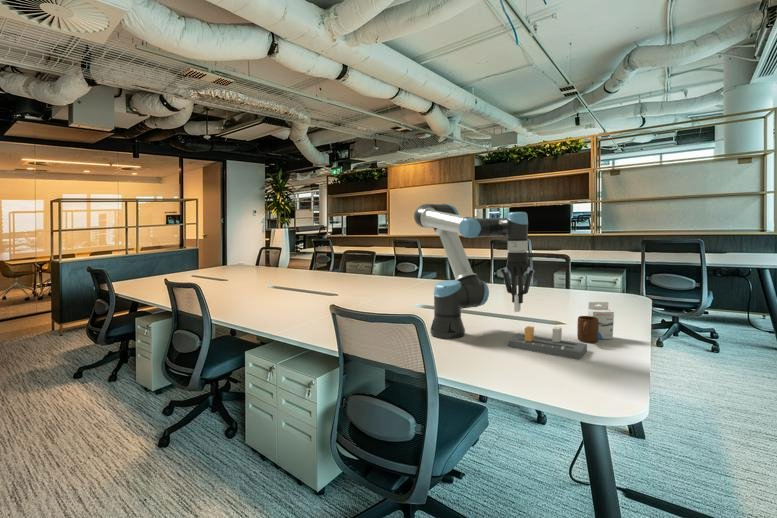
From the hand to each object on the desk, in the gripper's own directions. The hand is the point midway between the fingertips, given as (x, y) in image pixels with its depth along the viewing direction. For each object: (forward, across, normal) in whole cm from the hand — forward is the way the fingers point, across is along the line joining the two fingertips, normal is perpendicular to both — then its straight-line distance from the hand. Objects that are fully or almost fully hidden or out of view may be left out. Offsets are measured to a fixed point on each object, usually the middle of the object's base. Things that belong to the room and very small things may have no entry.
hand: (517, 311), depth 152 cm
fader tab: (+11, +5, 0) cm, 12 cm away
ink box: (+14, +25, +29) cm, 41 cm away
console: (+14, +10, +2) cm, 17 cm away
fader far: (+11, +14, +5) cm, 18 cm away
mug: (+14, +21, +20) cm, 32 cm away
